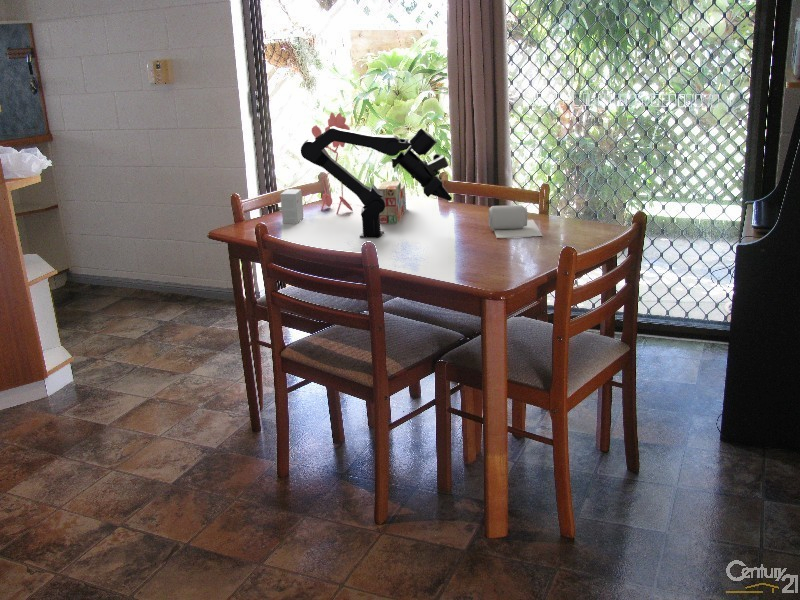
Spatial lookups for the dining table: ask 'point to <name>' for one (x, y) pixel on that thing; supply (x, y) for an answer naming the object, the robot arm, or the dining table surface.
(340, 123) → the figurine
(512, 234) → the mat
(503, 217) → the can
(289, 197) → the small box
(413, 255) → the dining table surface
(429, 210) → the dining table surface
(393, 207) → the stack of blocks
